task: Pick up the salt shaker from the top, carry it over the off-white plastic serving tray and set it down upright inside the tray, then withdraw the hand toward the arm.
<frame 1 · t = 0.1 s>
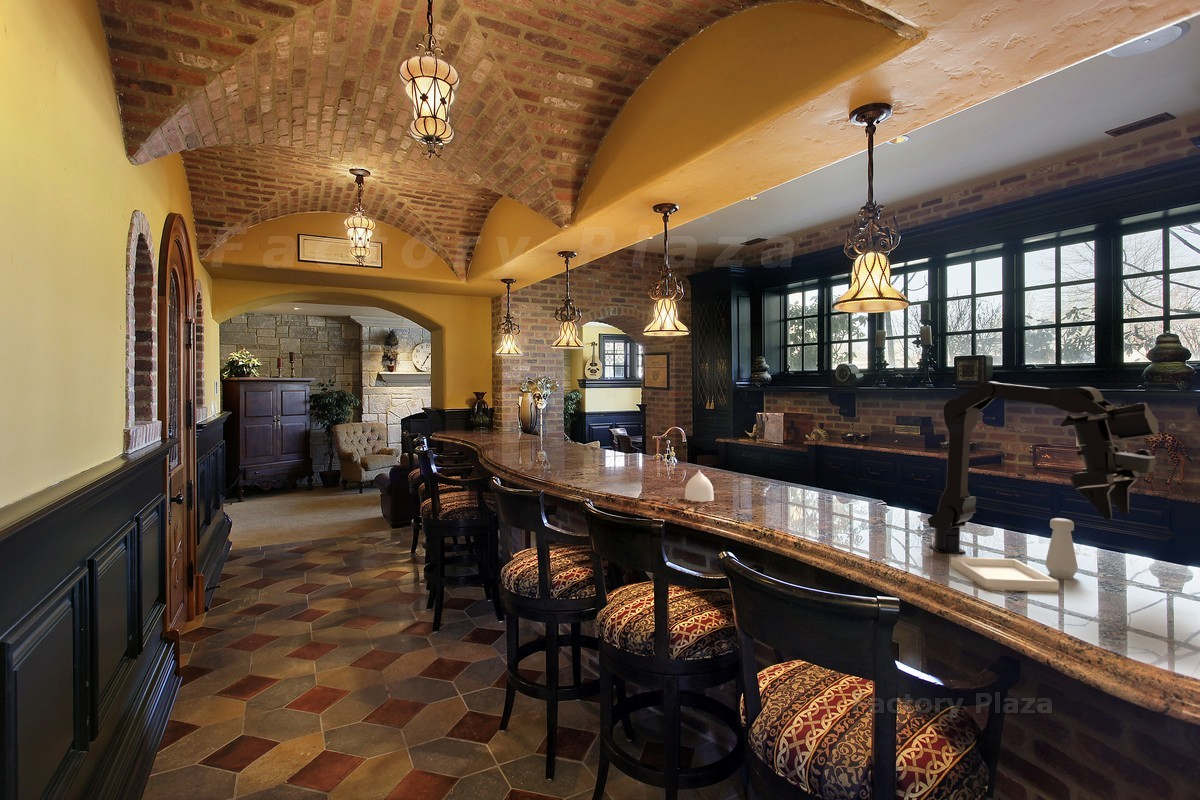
hand: (1117, 516, 123), 15 cm above the worktop, tool pointing down, fingers open, 9 cm apart
tray: (1001, 578, 130), on the worktop
salt shaker: (1061, 577, 131), on the worktop
teardrop: (699, 500, 221), on the worktop
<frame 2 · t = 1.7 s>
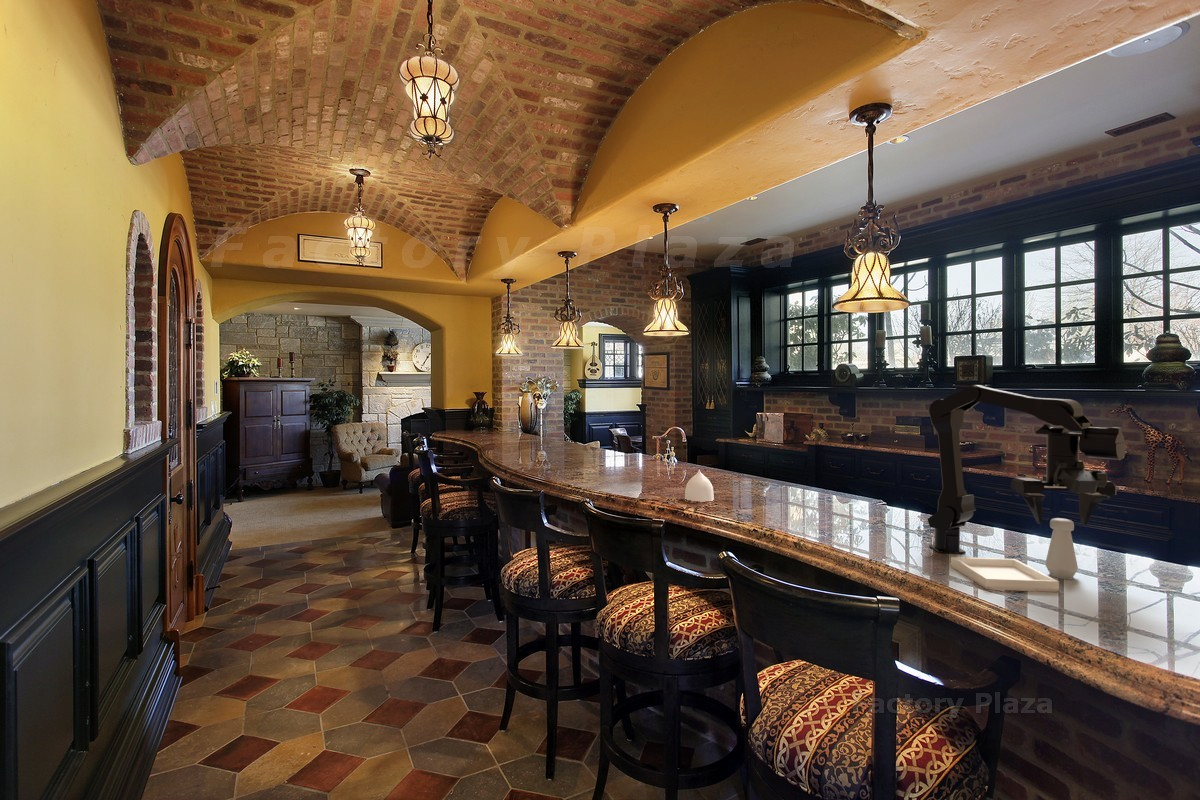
hand: (1061, 524, 131), 12 cm above the worktop, tool pointing down, fingers open, 9 cm apart
nothing on the worktop moved.
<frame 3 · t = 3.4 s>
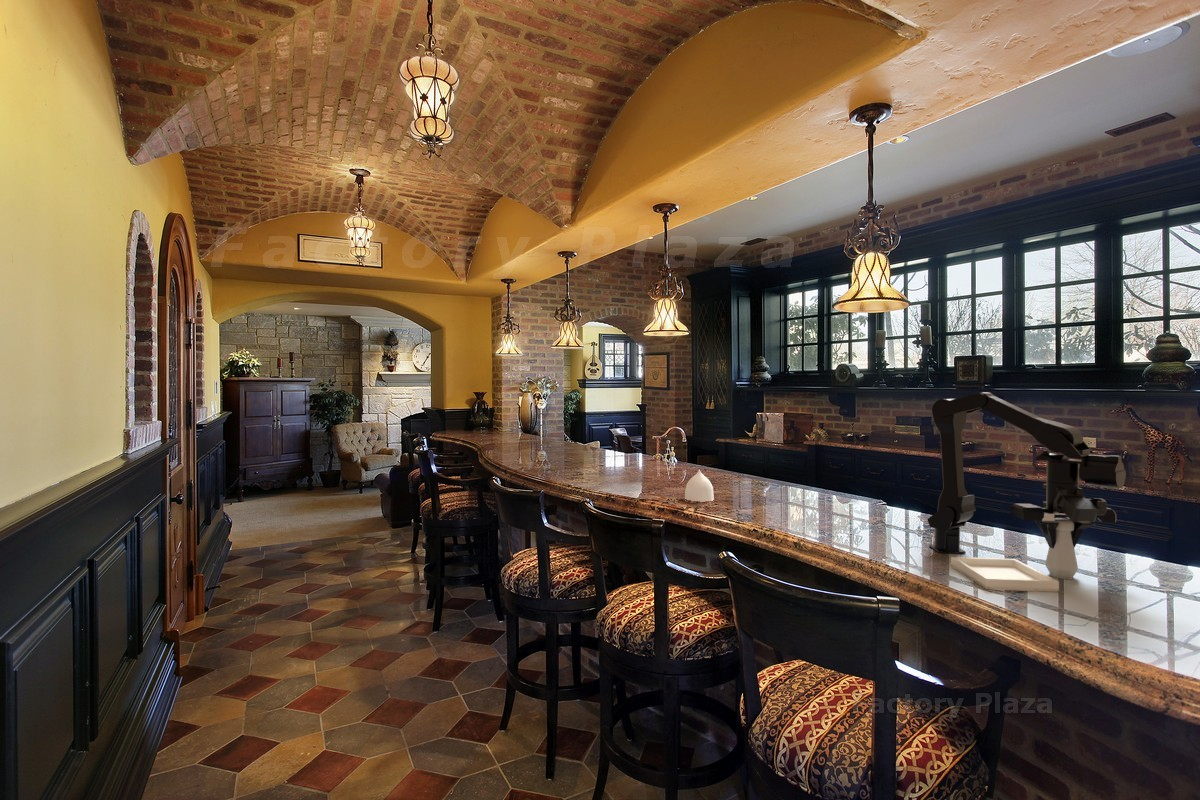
hand: (1061, 550, 131), 6 cm above the worktop, tool pointing down, fingers closed on salt shaker, 3 cm apart
salt shaker: (1061, 577, 131), on the worktop, touching gripper
everything else where it was.
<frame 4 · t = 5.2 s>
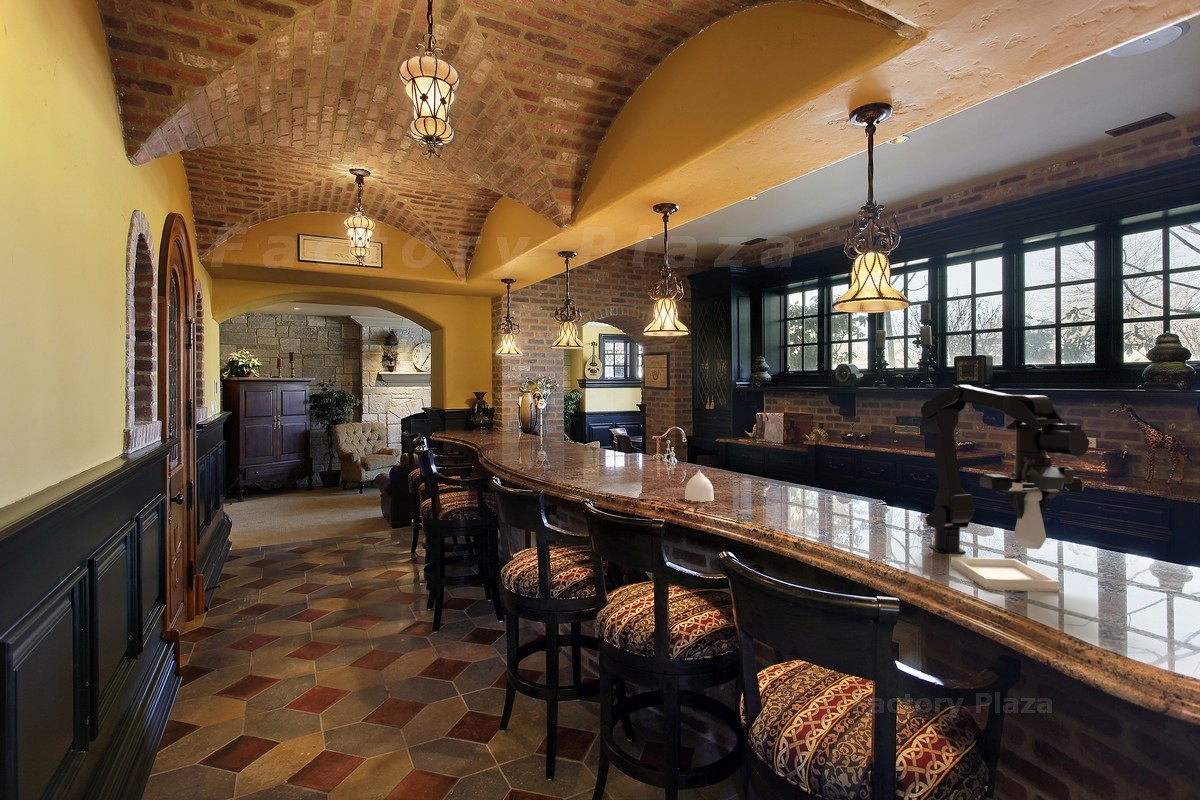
hand: (1029, 520, 130), 13 cm above the worktop, tool pointing down, fingers closed on salt shaker, 3 cm apart
salt shaker: (1029, 547, 130), point 7 cm above the worktop, touching gripper
everything else where it was.
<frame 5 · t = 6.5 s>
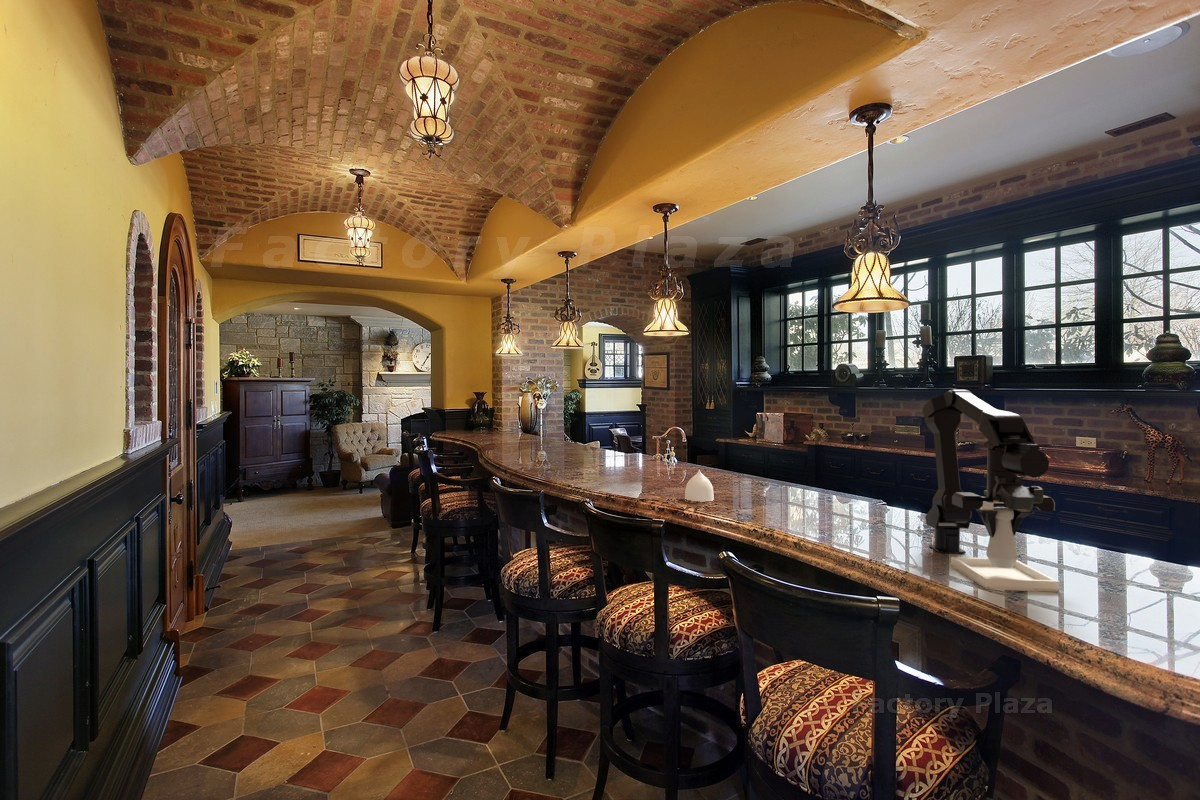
hand: (1001, 539, 130), 9 cm above the worktop, tool pointing down, fingers closed on salt shaker, 3 cm apart
salt shaker: (1001, 566, 130), point 3 cm above the worktop, touching gripper
everything else where it was.
when the fingers open (7 cm above the worktop, at t = 7.4 s): salt shaker stays where it is, resting on tray.
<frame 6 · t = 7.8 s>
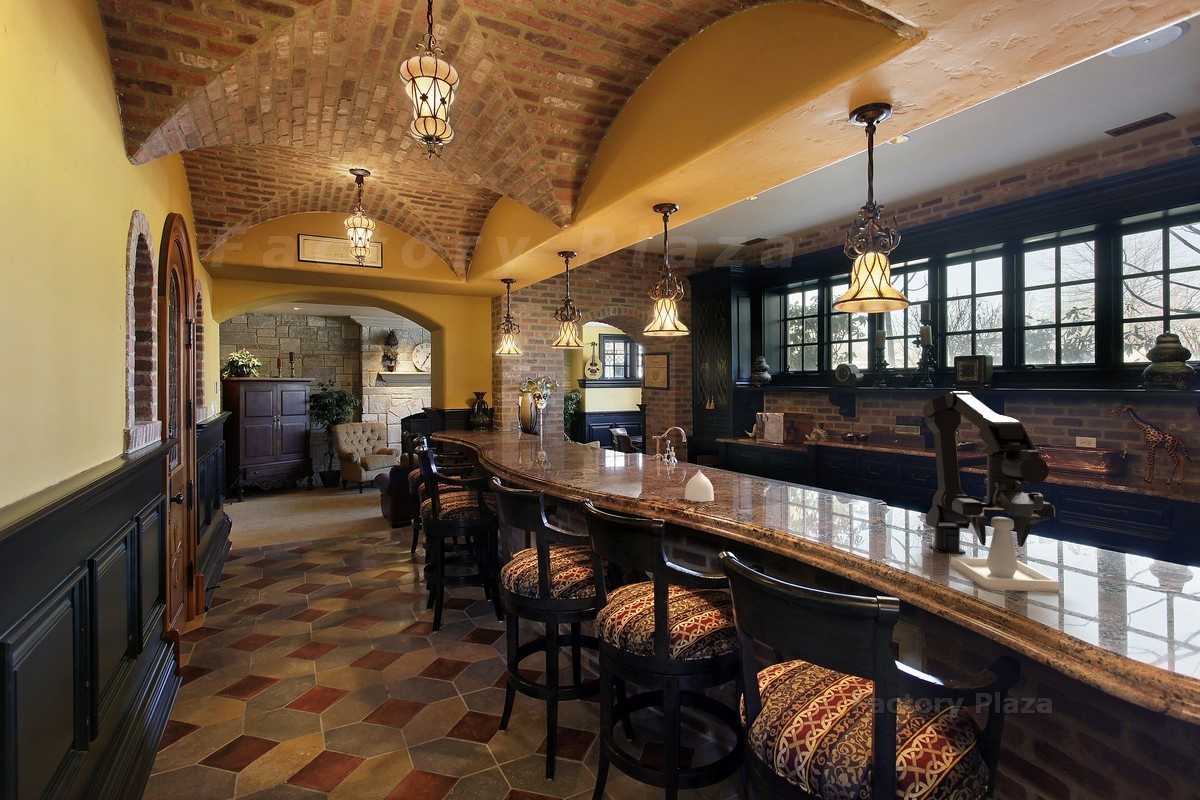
hand: (1001, 545, 130), 7 cm above the worktop, tool pointing down, fingers open, 7 cm apart
salt shaker: (1001, 576, 130), resting on tray
everything else where it was.
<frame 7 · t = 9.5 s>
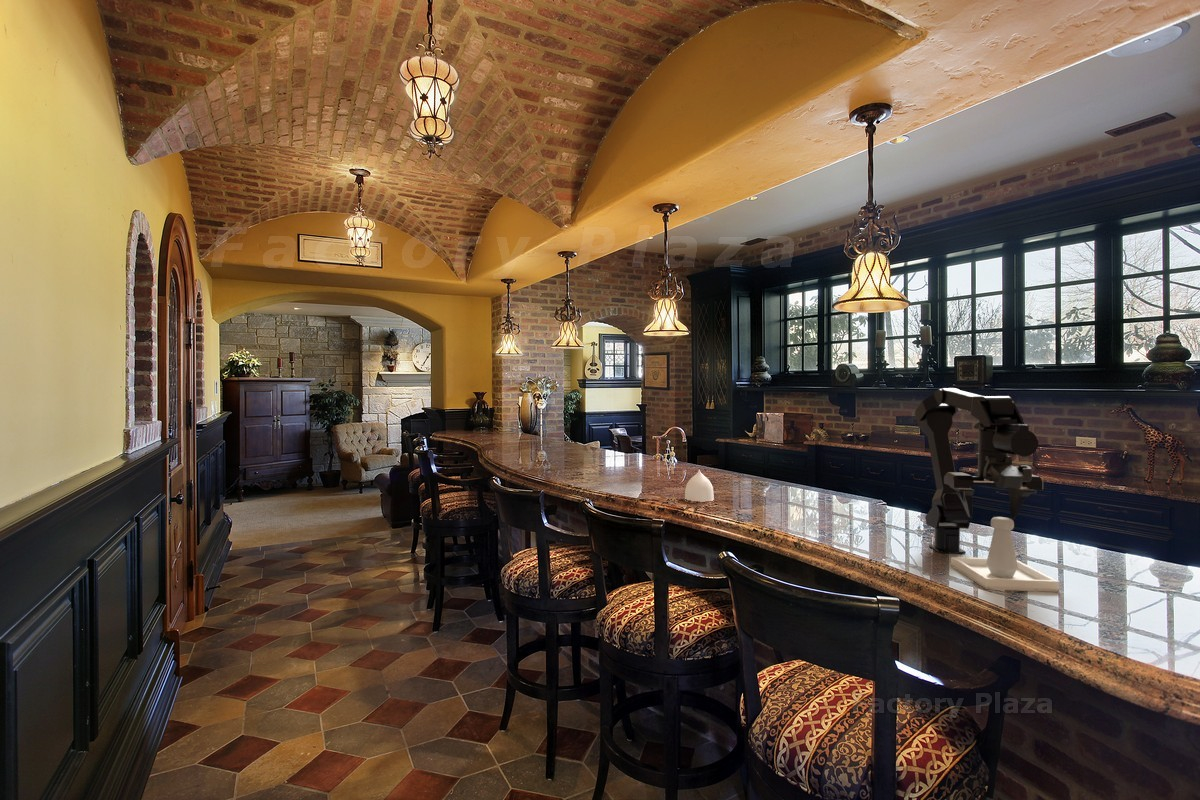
hand: (991, 517, 134), 13 cm above the worktop, tool pointing down, fingers open, 9 cm apart
nothing on the worktop moved.
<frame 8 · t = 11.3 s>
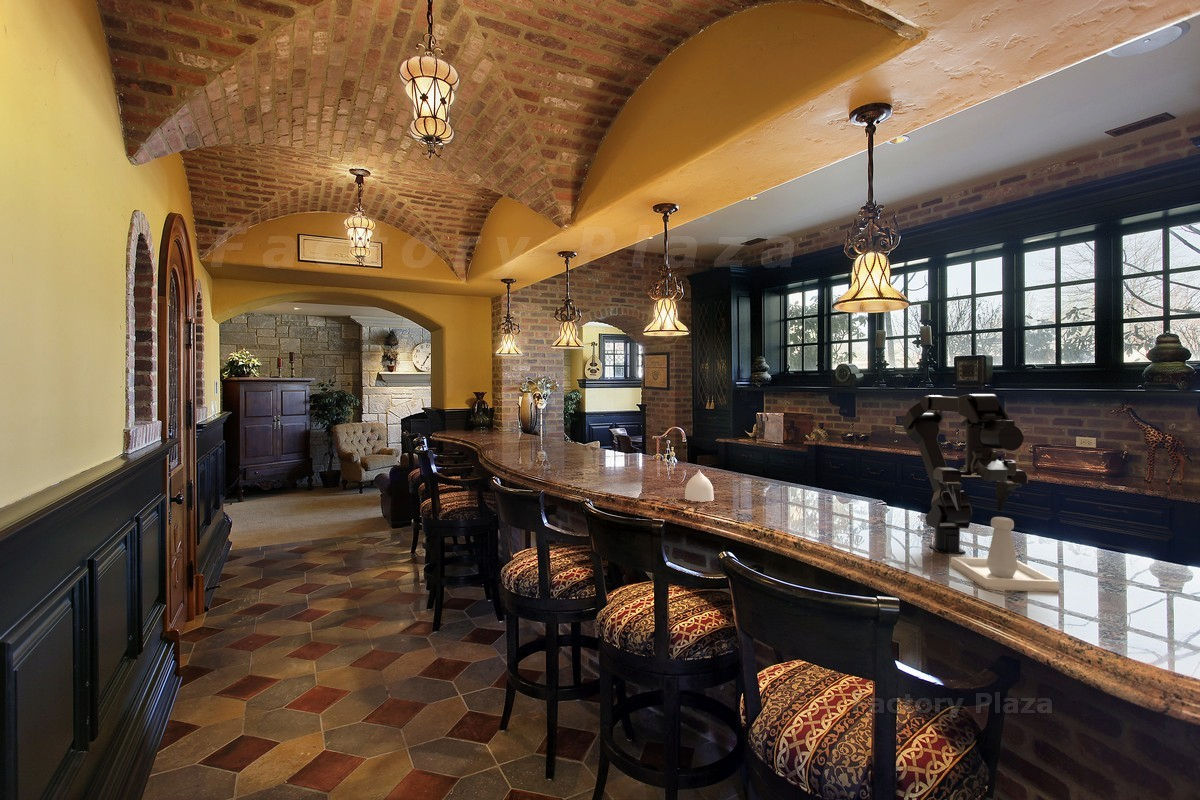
hand: (979, 510, 140), 13 cm above the worktop, tool pointing down, fingers open, 9 cm apart
nothing on the worktop moved.
at the end: salt shaker inside the target area on the tray (0.1 cm from its centre), point 0.4 cm above the tray's base; salt shaker tilted 0°; the gripper is holding nothing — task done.
